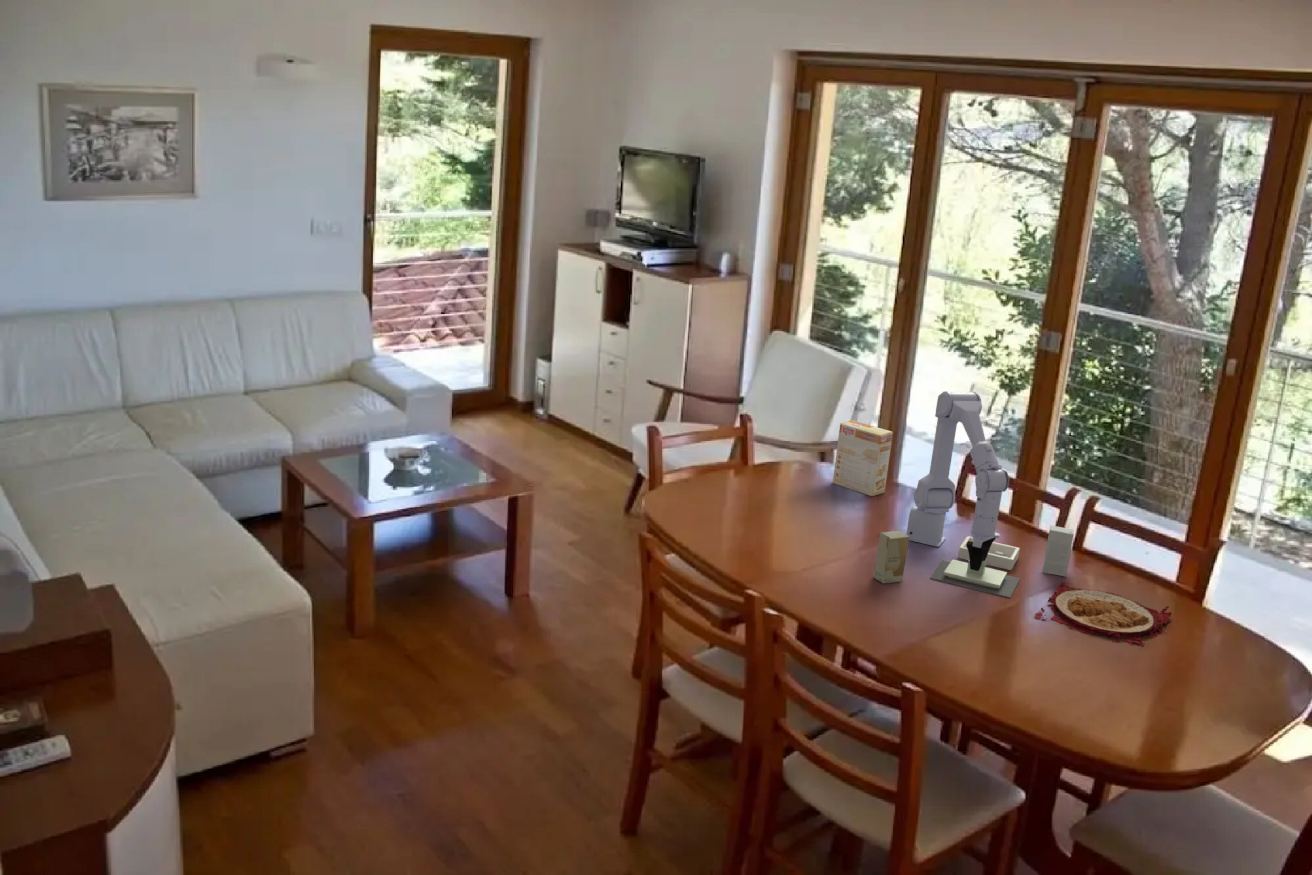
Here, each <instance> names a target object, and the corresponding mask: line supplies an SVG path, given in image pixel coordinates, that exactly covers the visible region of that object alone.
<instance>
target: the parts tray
mask: <svg viewBox="0 0 1312 875" xmlns="http://www.w3.org/2000/svg"><path fill="white" fill-rule="evenodd" d="M973 540H974V539H973V537H972V536H969V535H968V536H966V537H965V539H964V540H963V542H962V543H961V545H960V546H959V550H958V555H957V558H958V559H961V560H965V561H969V560H970V558H969V552H968V549H967V546H966V544H967V542H968V541H971V542H973ZM1020 550H1021V548H1020V547H1018V546H1017V547H1016V546H1013V545H1009V544H1006V543H1005V544H1003V543H1000V542H996V541H993V543H992V545H991V547H990V549H989V552H988V555H987V557H986V559H985V561H986V566H990V567H991V566H992V567H995V568H999V569H1004V570H1009V571H1012V570H1013V568H1014V567H1015V565H1016V563H1017V561H1018V558H1019V555H1020Z"/></svg>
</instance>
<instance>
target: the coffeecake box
mask: <svg viewBox="0 0 1312 875" xmlns="http://www.w3.org/2000/svg"><path fill="white" fill-rule="evenodd" d="M838 431H839V432H838V437H837V446H836V453H835V454H836V455H835V462H834V470H833V477H832V484H835V485H837V486H840V487H843V488H847V489H848V490H849V489H850V490H852V491H856V492H858V493H860V494H864V495H866V496H870V497H875V496H877V495H882V494H884V493H885V491H886V485H887V478H888V471H889V470H888V469H889V462H890V456H891V450H892V442H893V433H894V431H891V430H887V429H885V428H880V427H877V426H874V425H870V424H866V423H864V422H860V421H856V420H854V419H851V420H848V421H845V422H844V421H843V422H840V423H839V430H838Z"/></svg>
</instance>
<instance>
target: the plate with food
mask: <svg viewBox="0 0 1312 875" xmlns="http://www.w3.org/2000/svg"><path fill="white" fill-rule="evenodd" d="M1047 602H1050V604H1048V605H1047V607H1050V610H1051V611H1052V612H1053V616H1052V617H1051V618H1050V620H1051V621H1053V622H1056V623H1058V624H1060V625H1065V626H1068V627H1069V629H1071V630H1073V631H1074V630H1077V632H1080V633H1084V634H1087V635H1088V634H1090V635H1091V636H1094V635H1093V634H1099V635H1102V636H1107V638H1110V637H1112V642H1113V643H1116V642H1117V643H1121V642H1122V643H1128V645H1129V646H1135V647H1139V646H1140V647H1141V648H1144V647H1145V645H1146V643H1145V642H1144V641H1143V638H1145V636H1146V635H1147V634H1148V635H1150V636H1149V637H1150V639H1153V638H1157V637H1158V634H1159V635H1161V633H1162V631H1163V630H1162V629H1161V628H1160V627H1162V626H1166V625H1167V623H1168V622H1169V618H1171V617H1172V613H1173V612H1166V611H1167V610H1168V609H1169V608H1170V606H1168V605H1167V606H1165V608H1162V610H1161V609H1159V611H1158V610H1156V609H1153V608H1150V607H1146V606H1144V605H1143V604H1141V603H1139V602H1138V601H1134V600H1131V599H1129V598H1126V597H1124V596H1122V595H1119V594H1116V593H1114V592H1110V591H1109V592H1108V591H1103V590H1098V589H1096V590H1094V589H1087V588H1086V589H1084V588H1083V589H1082V588H1077V587H1076V588H1075V587H1072V586H1069V585H1068V584H1066V582H1061V584H1060V585H1059V586H1058V587H1057V589H1056V590H1055V591H1054V592H1053V594H1052V596H1050V597H1049V598H1048V600H1047ZM1045 611H1046V610H1045V609H1044V608H1043V607H1041V608H1040V611H1039V612H1035V614H1034V616H1035V617H1036V619H1038V620H1041V621H1042V620H1043V621H1044V622H1047V620H1048V618H1047V616H1046V614H1044V613H1045ZM1043 614H1044V615H1043ZM1044 616H1046V618H1044ZM1073 628H1074V629H1073ZM1143 635H1144V636H1143ZM1115 638H1116V639H1115ZM1123 639H1126V640H1123ZM1121 640H1122V641H1121ZM1134 643H1136V644H1137V645H1136V644H1134Z"/></svg>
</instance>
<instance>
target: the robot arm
mask: <svg viewBox="0 0 1312 875" xmlns="http://www.w3.org/2000/svg"><path fill="white" fill-rule="evenodd" d="M982 408H983V403H982V397H981V396H980V394H979V393H978V392H977V391H969V392H968V391H966V392H965V391H942V392H941V393H940V394H939V395H938V396H937V402H936V407H935V415H934V416H935V418H937V421H936V426H935V427H936V428H935V434H934V440H933V441H934V442H933V448H932V453H931V460H930V466H929V467H930V468H929V472H928V474H926V475H925V476H923V477H922V478H920V479H919V480H918V482H917V486H916V489H915V490H914V493H913V501H914V504H915V505H913V506H911V507H910V508H911V509H910V512H909V514H908V515H909V516H908V522H907V527H906V533H905V534H906V535H908V536H909V542H910V541H911V542H915V543H920V544H924V545H927V546H928V545H929V546H932V547H936V548H940V547H941V545H942V544H943V542H944V541H945V540H946V536H943V534H944V533H943V532H944V528H945V520H946V516H947V514H946V513H949V512H950V509H952V508H953V507H954V505H955V503H956V492H955V490H956V485H955V482H954V481H952V479H951V478H950V477H949V476H950V470H951V463H952V456H953V452H954V451H953V450H954V446H955V438H956V432H957V426H958V424H959V423H960V424H962V426H963V429H964V431H965V433H966V435H967V437H968V439H969V440H968V441H969V442H970V444H971V446H972V447H971V448H970V451H969V454H970V457H971V460H972V463H973V465H974V469H975V472H976V476H974V477H975V478H974V482H975V496H976V502H975V508H974V515H973V519H972V527H971V528H970V534H971V537H973V539H974V540H973V542H971V541H968V542H967V544H966V546H967V549H968V552H969V558H970V569H971V570H975V571H979V569H980V567H981V564H982V561H985V559H986V557H987V555H988V552H989V549H990V547H991V545H992V543H993V542H995V540H996V539H999V538H1000V536H1001V535H1000V533H998V532H996V529H997V524H998V517H999V511H1000V507H1001V502H1002V501H1001V500H1002V497H1003V496H1002V495H1003V492H1006V491H1007V489H1008V488H1009V484H1010V478H1009V473H1008V471H1007V470H1006V468H1003V466H1002V465H1001V464H1000V463H999V461H998V458H997V455H996V453H995V449H994V447H993V445H992V444H991V443H989V442H987V440H986V437H985V432H984V428H983V425H982V421H981V417H980V416H981V413H982Z"/></svg>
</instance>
